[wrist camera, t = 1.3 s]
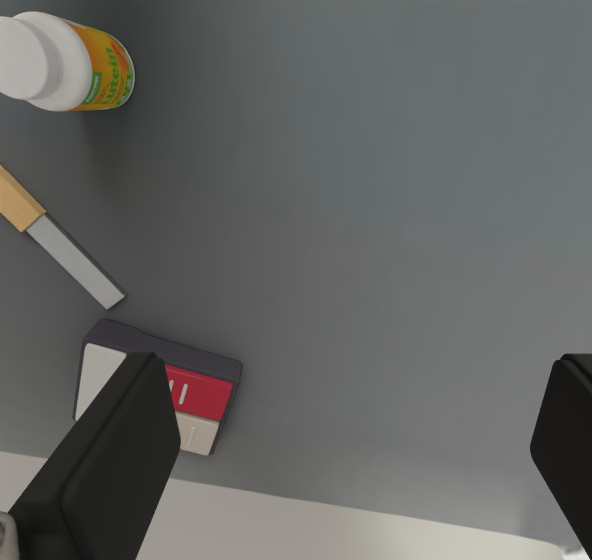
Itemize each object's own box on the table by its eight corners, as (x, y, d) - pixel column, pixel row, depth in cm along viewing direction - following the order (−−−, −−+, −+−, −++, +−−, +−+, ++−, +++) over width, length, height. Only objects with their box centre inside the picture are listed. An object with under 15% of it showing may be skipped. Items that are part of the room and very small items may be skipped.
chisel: (-37, 165, 34) (-46, 167, 33) (-18, 145, 33) (-28, 146, 32) (109, 308, 39) (103, 313, 38) (128, 294, 38) (123, 298, 37)
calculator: (211, 462, 42) (67, 426, 40) (218, 431, 46) (88, 396, 44) (238, 386, 37) (78, 341, 35) (244, 358, 41) (100, 316, 39)
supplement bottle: (136, 115, 31) (62, 122, 23) (69, 101, 31) (-31, 102, 22) (137, 38, 29) (56, 11, 20) (65, 22, 29) (-48, -11, 20)
